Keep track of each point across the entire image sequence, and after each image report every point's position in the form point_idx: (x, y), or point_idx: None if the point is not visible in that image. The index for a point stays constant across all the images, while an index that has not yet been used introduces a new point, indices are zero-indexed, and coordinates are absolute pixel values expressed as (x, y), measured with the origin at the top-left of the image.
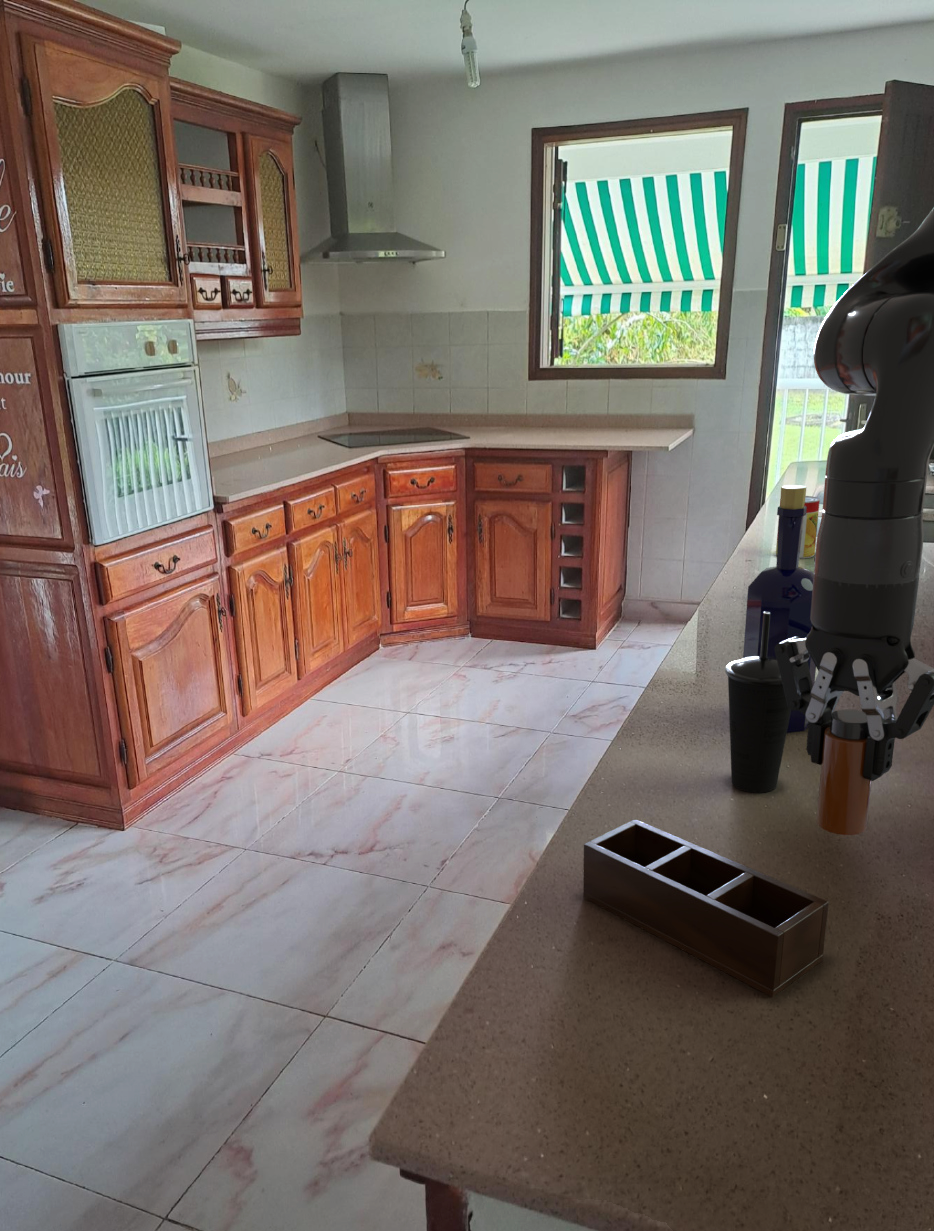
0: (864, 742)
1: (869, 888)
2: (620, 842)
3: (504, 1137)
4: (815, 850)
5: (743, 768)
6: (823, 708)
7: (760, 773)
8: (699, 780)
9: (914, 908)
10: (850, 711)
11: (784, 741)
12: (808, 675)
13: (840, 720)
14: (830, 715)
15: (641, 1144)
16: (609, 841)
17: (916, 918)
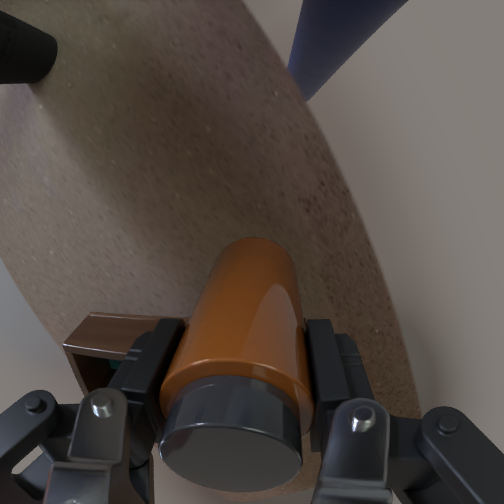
0: (302, 437)
1: (264, 153)
2: (84, 365)
3: (265, 490)
4: (165, 121)
5: (18, 81)
6: (152, 489)
7: (34, 67)
8: (5, 106)
9: (325, 158)
10: (196, 445)
11: (20, 26)
12: (2, 469)
13: (227, 490)
14: (138, 417)
15: (311, 472)
16: (87, 382)
17: (337, 177)
